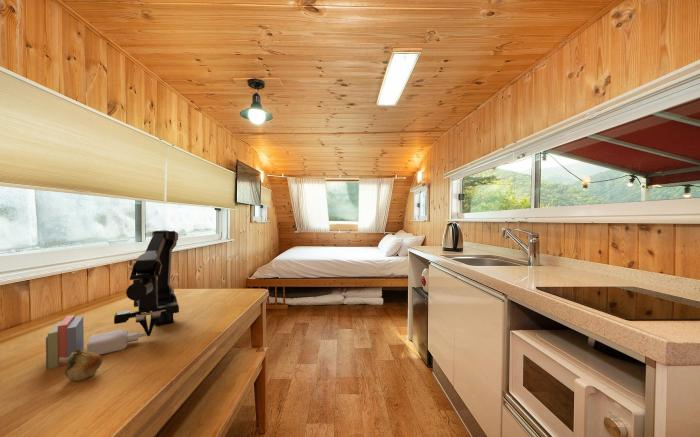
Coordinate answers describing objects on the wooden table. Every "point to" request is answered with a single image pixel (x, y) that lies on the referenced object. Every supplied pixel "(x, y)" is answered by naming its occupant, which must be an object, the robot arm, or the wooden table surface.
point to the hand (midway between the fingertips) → (148, 335)
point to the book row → (64, 340)
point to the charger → (111, 341)
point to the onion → (81, 365)
